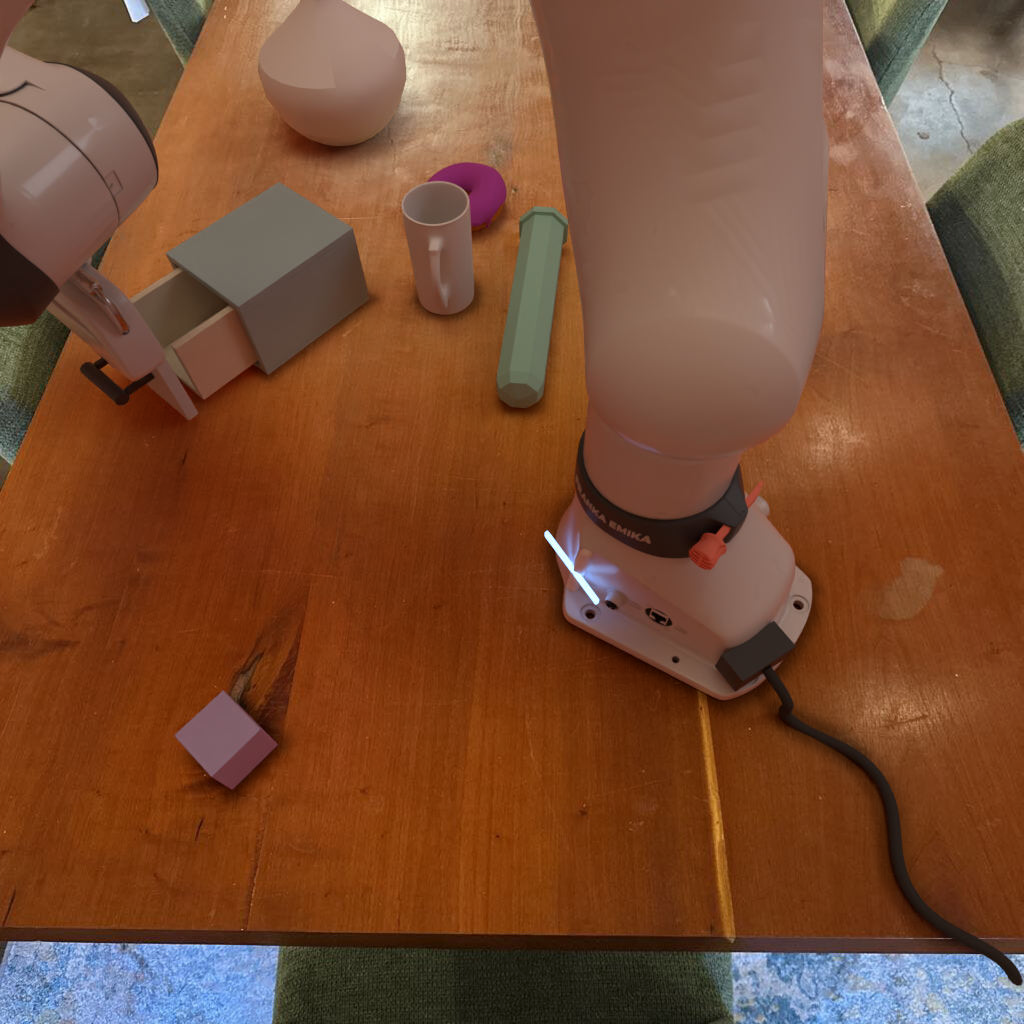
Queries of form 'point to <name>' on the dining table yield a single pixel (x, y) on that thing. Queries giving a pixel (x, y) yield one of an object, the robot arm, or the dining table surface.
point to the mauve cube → (225, 740)
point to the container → (531, 307)
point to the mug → (440, 245)
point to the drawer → (184, 343)
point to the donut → (477, 190)
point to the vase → (333, 72)
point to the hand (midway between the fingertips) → (114, 357)
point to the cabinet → (278, 271)
